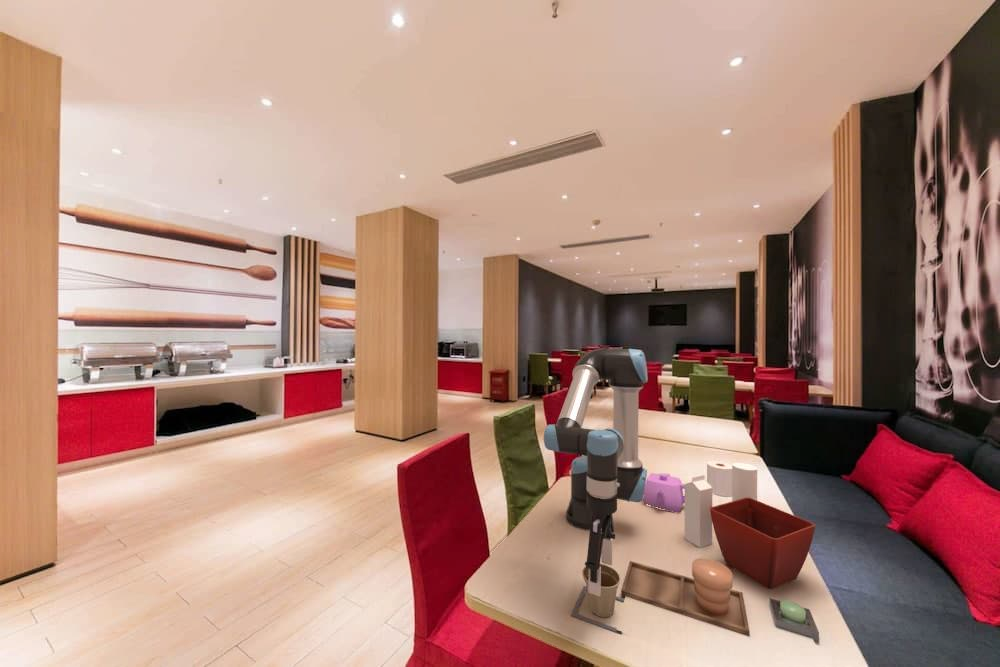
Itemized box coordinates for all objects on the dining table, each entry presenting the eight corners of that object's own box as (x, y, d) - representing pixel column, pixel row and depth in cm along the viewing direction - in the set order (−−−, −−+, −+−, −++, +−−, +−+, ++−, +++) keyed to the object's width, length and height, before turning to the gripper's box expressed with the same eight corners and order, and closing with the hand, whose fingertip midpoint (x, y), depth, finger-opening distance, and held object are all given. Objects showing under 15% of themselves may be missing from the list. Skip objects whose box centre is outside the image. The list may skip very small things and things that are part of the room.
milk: (712, 544, 123) (713, 478, 123) (699, 548, 121) (700, 481, 121) (696, 534, 129) (697, 471, 129) (683, 538, 126) (684, 474, 126)
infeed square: (571, 615, 91) (571, 614, 91) (584, 586, 102) (584, 585, 102) (621, 634, 86) (621, 633, 86) (629, 601, 96) (629, 600, 96)
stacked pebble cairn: (691, 609, 92) (691, 573, 93) (692, 588, 100) (692, 554, 100) (734, 623, 88) (734, 585, 88) (730, 599, 96) (731, 564, 96)
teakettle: (696, 511, 146) (696, 480, 146) (658, 516, 142) (658, 484, 142) (667, 493, 163) (667, 465, 163) (632, 497, 159) (633, 468, 159)
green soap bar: (782, 624, 88) (782, 610, 88) (778, 610, 92) (778, 597, 92) (808, 631, 86) (808, 617, 86) (802, 617, 90) (802, 604, 90)
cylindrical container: (761, 546, 122) (761, 471, 122) (737, 543, 123) (737, 469, 124) (751, 535, 129) (751, 463, 129) (728, 532, 130) (728, 462, 131)
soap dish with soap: (775, 629, 87) (775, 619, 87) (769, 607, 94) (769, 598, 94) (818, 643, 84) (819, 632, 84) (809, 619, 91) (809, 609, 91)
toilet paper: (710, 495, 161) (710, 467, 161) (704, 485, 171) (704, 459, 171) (736, 498, 158) (737, 470, 158) (729, 488, 168) (729, 462, 168)
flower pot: (599, 628, 87) (600, 592, 87) (574, 602, 96) (574, 569, 96) (628, 614, 92) (628, 580, 92) (601, 591, 100) (602, 559, 100)
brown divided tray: (621, 597, 98) (621, 590, 98) (629, 566, 111) (629, 560, 111) (749, 639, 84) (749, 631, 84) (742, 599, 97) (742, 592, 97)
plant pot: (774, 603, 96) (775, 539, 96) (707, 562, 113) (708, 507, 113) (816, 584, 104) (817, 524, 104) (747, 548, 121) (748, 496, 121)
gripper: (606, 517, 81) (605, 614, 81) (625, 480, 103) (624, 556, 103) (573, 509, 85) (571, 602, 84) (598, 475, 107) (597, 549, 106)
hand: (600, 577), depth 93 cm, fingers open, 13 cm apart
